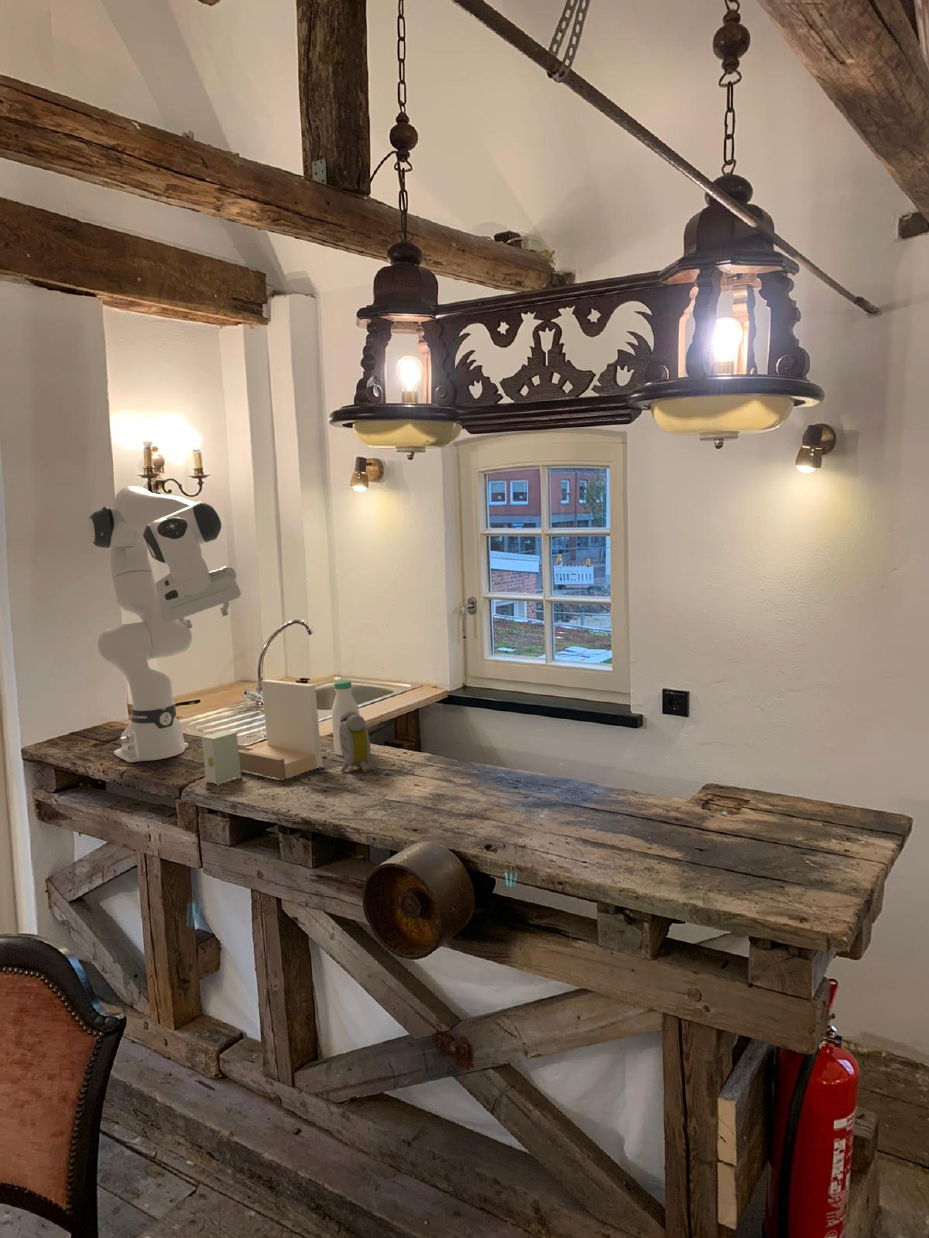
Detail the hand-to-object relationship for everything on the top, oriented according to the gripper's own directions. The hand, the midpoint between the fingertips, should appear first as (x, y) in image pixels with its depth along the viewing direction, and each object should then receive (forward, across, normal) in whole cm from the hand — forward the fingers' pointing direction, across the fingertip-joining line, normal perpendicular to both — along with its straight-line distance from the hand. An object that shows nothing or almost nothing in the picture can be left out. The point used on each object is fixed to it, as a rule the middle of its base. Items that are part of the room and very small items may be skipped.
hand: (207, 620), depth 222 cm
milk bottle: (+42, -22, +24) cm, 53 cm away
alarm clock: (+32, -20, +38) cm, 54 cm away
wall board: (+35, -3, +25) cm, 43 cm away
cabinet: (+30, +10, +25) cm, 41 cm away
